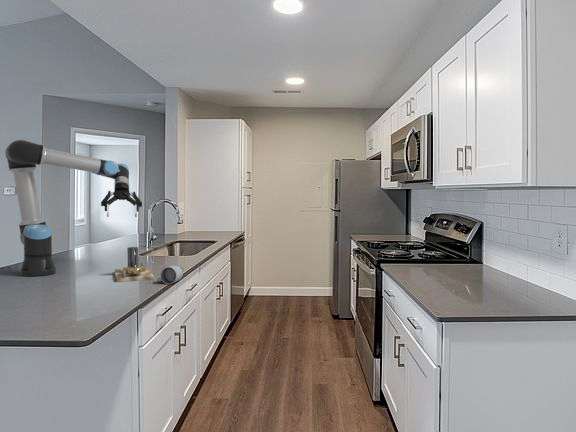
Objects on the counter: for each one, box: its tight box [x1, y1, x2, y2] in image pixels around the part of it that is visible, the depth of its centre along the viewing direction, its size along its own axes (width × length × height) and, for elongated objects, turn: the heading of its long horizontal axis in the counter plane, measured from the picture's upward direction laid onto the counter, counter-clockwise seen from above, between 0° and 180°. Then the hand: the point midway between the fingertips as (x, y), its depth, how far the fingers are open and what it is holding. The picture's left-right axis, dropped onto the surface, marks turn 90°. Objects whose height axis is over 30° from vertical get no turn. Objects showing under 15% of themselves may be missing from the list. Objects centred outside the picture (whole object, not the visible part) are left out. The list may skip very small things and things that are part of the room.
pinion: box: [126, 246, 140, 267], centre depth 207 cm, size 5×5×12 cm
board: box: [114, 262, 155, 283], centre depth 205 cm, size 16×25×4 cm, turn 24°
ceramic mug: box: [156, 265, 184, 285], centre depth 192 cm, size 11×8×8 cm
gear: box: [122, 265, 147, 276], centre depth 199 cm, size 10×10×5 cm
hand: (121, 215), depth 222 cm, fingers open, 13 cm apart
